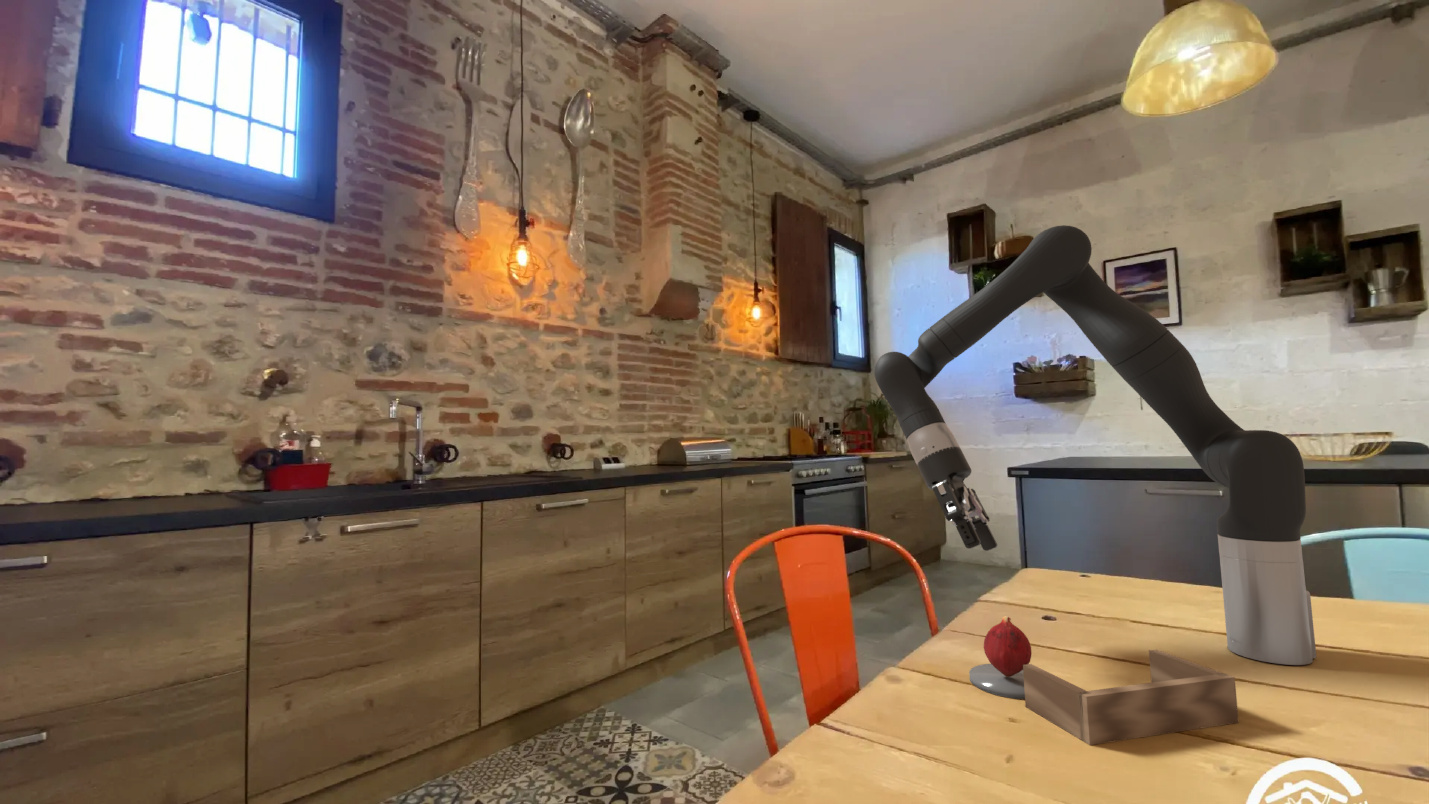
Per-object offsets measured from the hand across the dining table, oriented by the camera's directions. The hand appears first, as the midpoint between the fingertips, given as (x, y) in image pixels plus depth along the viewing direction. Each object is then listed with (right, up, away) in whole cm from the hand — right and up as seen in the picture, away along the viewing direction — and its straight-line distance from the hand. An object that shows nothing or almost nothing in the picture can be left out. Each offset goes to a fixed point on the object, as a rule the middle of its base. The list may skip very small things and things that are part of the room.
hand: (983, 548), depth 92 cm
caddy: (+7, -14, -21) cm, 27 cm away
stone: (-2, -15, -12) cm, 20 cm away
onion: (-2, -15, -12) cm, 19 cm away
